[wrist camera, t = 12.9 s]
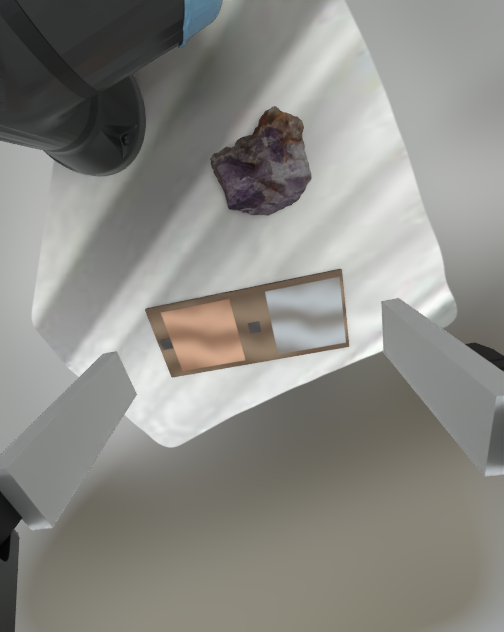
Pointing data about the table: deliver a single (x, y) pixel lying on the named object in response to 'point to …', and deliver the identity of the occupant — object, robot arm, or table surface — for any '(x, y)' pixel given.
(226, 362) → the board
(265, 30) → the table surface
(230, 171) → the rock
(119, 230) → the table surface
